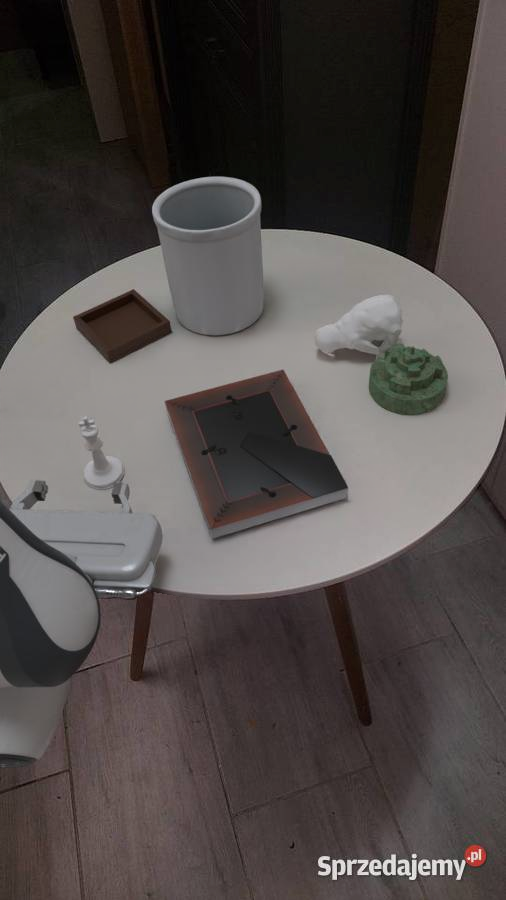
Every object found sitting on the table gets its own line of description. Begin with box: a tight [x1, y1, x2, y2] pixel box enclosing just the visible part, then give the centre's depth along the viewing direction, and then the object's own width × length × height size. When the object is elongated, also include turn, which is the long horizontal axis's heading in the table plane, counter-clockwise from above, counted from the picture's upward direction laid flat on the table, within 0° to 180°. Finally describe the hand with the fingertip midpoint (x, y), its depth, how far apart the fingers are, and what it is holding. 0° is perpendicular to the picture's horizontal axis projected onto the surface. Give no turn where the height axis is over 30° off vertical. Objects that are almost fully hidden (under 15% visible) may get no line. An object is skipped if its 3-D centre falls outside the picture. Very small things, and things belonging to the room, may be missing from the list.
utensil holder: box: [151, 176, 265, 336], centre depth 99 cm, size 15×15×18 cm
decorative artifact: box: [368, 343, 449, 415], centre depth 89 cm, size 10×7×10 cm
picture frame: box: [164, 369, 349, 540], centre depth 84 cm, size 16×2×22 cm
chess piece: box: [78, 415, 125, 491], centre depth 81 cm, size 5×5×10 cm
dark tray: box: [72, 288, 173, 364], centre depth 102 cm, size 11×11×2 cm
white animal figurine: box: [313, 294, 403, 359], centre depth 94 cm, size 6×8×12 cm
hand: (81, 484), depth 76 cm, fingers open, 8 cm apart
